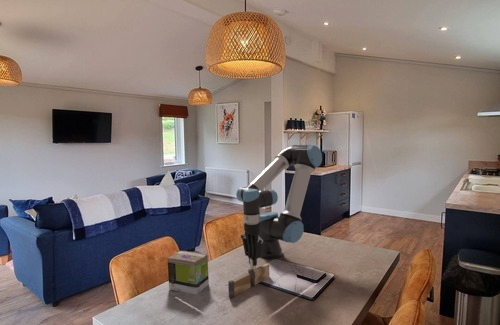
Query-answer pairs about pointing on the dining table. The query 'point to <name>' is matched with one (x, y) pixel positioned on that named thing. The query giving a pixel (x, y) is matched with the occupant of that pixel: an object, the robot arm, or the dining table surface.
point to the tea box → (188, 272)
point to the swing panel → (258, 274)
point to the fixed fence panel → (239, 285)
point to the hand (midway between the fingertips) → (253, 271)
